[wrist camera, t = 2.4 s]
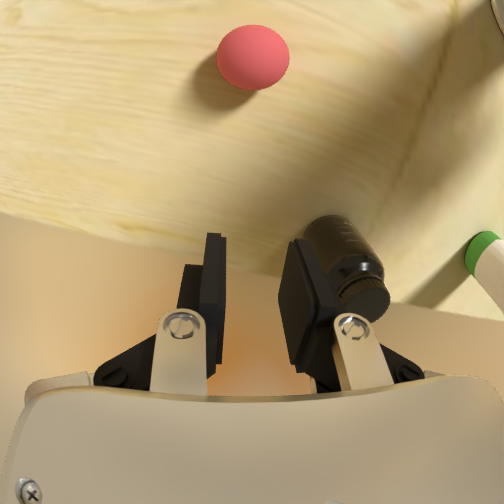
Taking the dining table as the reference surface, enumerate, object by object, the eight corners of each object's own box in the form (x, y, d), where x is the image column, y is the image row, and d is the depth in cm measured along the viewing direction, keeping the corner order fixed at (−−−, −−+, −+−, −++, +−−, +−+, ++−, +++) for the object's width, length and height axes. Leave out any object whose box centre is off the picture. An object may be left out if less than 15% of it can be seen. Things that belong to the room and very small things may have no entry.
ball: (255, 20, 21) (262, 4, 16) (295, 66, 23) (312, 62, 18) (204, 56, 22) (197, 49, 17) (245, 101, 25) (249, 106, 20)
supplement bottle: (336, 269, 36) (369, 340, 26) (290, 253, 35) (313, 328, 25) (366, 225, 33) (413, 289, 23) (319, 203, 31) (359, 268, 21)
